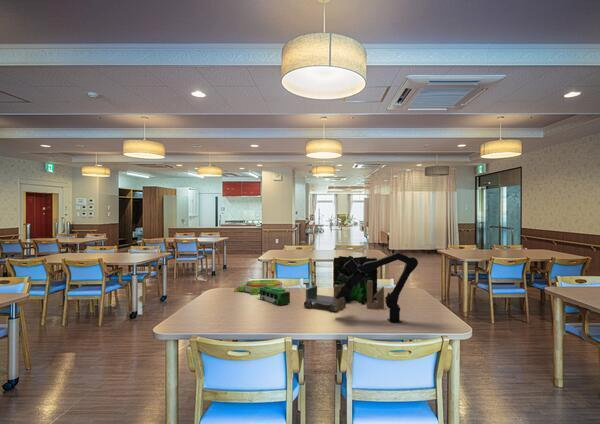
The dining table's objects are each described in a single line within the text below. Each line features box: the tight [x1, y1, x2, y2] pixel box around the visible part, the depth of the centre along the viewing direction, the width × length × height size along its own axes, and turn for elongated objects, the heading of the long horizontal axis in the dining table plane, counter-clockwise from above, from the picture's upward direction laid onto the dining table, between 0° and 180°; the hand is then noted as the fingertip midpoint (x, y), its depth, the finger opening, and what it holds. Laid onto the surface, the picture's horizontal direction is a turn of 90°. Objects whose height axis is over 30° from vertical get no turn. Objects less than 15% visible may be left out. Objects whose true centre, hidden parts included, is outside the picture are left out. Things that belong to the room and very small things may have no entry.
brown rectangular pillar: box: [333, 284, 344, 312], centre depth 211 cm, size 5×5×14 cm
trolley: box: [303, 285, 348, 313], centre depth 236 cm, size 23×17×12 cm
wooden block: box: [366, 280, 385, 310], centre depth 234 cm, size 4×11×18 cm, turn 84°
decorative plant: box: [333, 255, 378, 305], centre depth 259 cm, size 29×30×30 cm
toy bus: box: [259, 285, 291, 306], centre depth 252 cm, size 11×27×10 cm, turn 31°
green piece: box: [233, 279, 283, 296], centre depth 287 cm, size 29×38×7 cm
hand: (336, 297), depth 211 cm, fingers closed on brown rectangular pillar, 5 cm apart
